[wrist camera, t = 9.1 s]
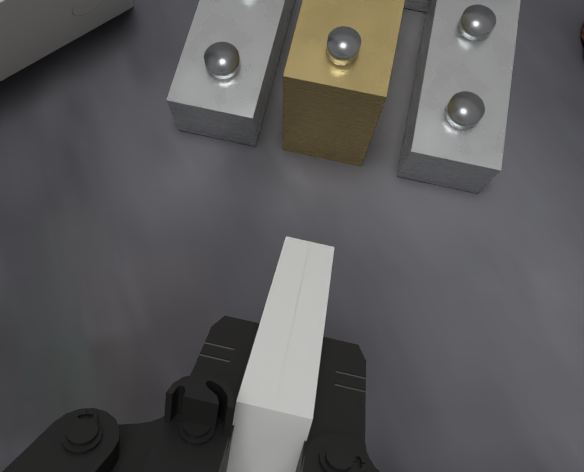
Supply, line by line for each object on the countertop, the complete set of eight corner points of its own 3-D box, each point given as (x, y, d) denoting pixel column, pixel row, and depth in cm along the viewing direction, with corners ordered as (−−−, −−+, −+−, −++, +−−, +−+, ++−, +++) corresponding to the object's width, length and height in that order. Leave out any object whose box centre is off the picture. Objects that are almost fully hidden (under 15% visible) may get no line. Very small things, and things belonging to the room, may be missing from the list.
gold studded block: (321, -4, 35) (333, -126, 27) (391, 10, 35) (427, -109, 26) (282, 150, 32) (283, 65, 23) (361, 166, 32) (389, 87, 23)
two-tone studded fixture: (233, -44, 36) (226, -110, 31) (500, 8, 35) (535, -52, 30) (178, 130, 32) (160, 85, 27) (477, 193, 31) (513, 158, 26)
